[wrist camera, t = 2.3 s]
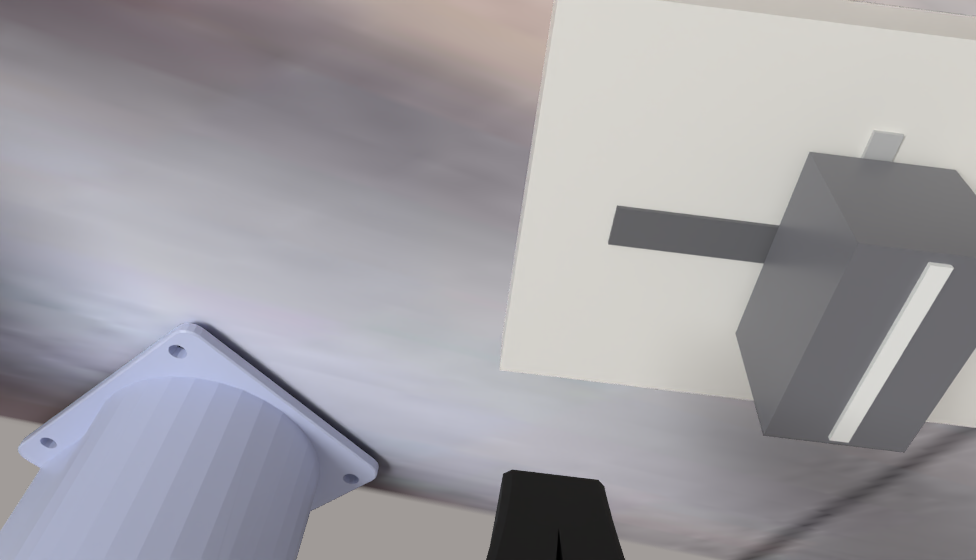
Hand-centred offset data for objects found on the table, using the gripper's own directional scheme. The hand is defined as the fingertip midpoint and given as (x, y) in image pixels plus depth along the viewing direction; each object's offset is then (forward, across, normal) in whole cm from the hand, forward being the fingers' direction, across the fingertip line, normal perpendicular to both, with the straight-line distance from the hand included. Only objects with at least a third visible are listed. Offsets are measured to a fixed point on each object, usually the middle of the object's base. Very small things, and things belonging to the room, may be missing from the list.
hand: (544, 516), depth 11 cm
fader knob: (+8, -7, 0) cm, 10 cm away
